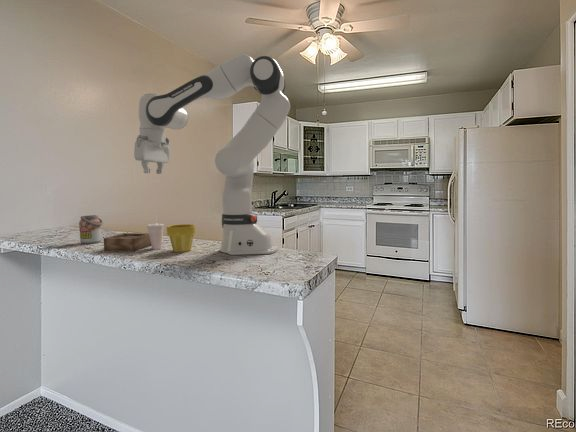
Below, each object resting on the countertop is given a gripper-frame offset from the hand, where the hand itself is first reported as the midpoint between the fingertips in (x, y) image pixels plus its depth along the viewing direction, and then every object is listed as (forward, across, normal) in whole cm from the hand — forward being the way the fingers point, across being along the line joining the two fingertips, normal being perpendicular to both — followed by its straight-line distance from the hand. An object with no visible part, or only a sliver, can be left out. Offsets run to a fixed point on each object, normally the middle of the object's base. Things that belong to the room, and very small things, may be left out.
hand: (153, 173), depth 128 cm
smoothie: (+30, 0, 0) cm, 30 cm away
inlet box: (+30, +1, +12) cm, 32 cm away
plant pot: (+30, -3, -12) cm, 33 cm away
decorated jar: (+31, +11, +36) cm, 49 cm away
